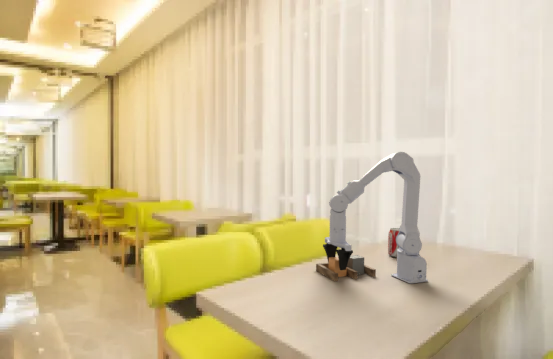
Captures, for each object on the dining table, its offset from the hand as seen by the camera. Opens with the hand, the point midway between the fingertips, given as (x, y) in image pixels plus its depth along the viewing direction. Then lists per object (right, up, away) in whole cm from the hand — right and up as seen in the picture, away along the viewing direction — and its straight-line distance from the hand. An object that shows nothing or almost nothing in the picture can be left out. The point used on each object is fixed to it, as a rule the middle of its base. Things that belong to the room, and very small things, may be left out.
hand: (336, 266), depth 118 cm
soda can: (+32, -3, +29) cm, 43 cm away
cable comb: (+4, -3, +1) cm, 5 cm away
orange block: (0, -3, 0) cm, 3 cm away
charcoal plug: (+7, -3, +3) cm, 8 cm away
